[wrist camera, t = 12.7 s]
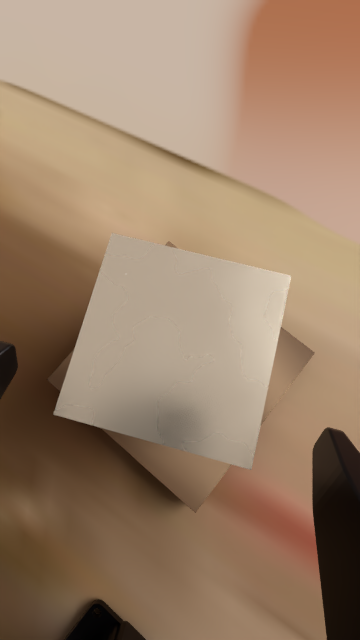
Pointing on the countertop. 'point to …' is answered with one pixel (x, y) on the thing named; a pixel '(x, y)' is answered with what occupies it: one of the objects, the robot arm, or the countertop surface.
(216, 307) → the cream tea tin
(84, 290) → the countertop surface
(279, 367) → the walnut block
